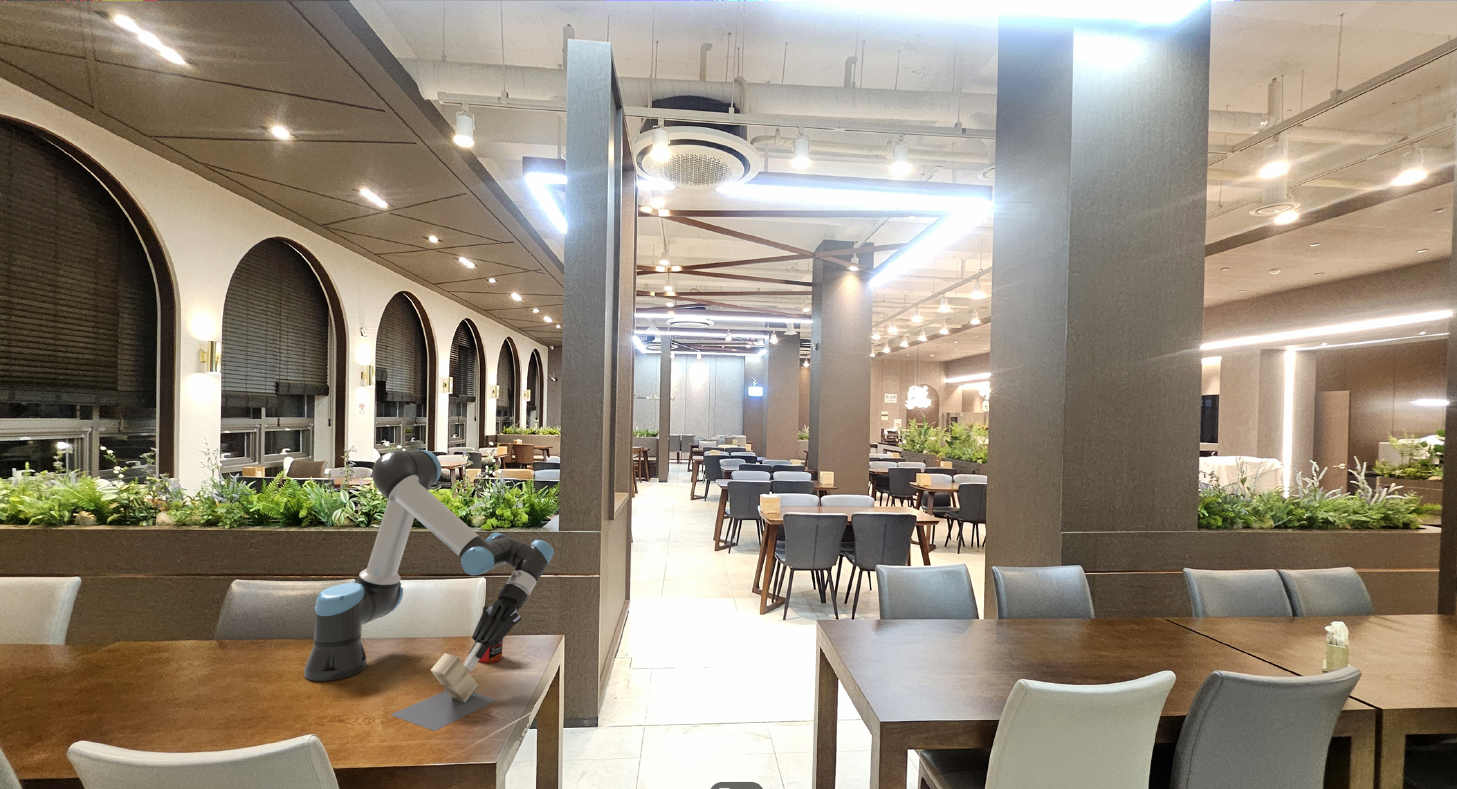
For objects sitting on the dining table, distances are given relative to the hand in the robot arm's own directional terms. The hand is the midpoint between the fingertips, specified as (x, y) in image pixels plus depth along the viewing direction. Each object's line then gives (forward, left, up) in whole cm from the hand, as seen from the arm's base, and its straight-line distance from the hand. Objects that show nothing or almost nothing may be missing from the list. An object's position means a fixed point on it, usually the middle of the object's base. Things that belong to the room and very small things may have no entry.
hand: (466, 668), depth 163 cm
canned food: (-16, +22, -8) cm, 29 cm away
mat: (0, -6, -8) cm, 10 cm away
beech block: (0, 0, -6) cm, 6 cm away
